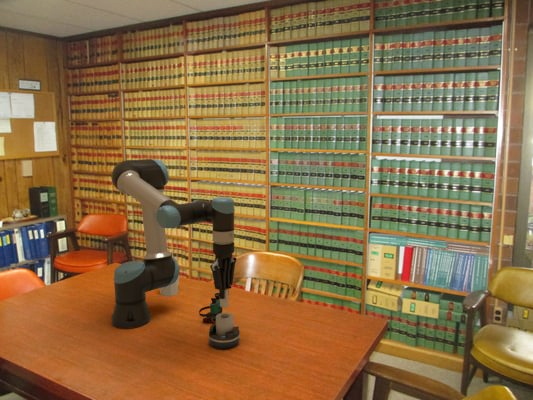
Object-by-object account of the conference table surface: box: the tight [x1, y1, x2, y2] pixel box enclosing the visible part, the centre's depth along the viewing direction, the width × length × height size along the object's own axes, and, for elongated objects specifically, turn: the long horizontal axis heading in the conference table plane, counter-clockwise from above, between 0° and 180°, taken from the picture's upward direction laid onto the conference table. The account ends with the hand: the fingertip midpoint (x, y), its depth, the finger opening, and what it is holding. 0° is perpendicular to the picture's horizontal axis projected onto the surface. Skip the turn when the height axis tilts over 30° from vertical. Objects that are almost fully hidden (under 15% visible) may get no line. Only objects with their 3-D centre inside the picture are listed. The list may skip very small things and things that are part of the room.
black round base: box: [208, 323, 241, 351], centre depth 153 cm, size 11×11×6 cm
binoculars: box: [198, 292, 224, 324], centre depth 172 cm, size 9×11×10 cm
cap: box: [216, 312, 235, 336], centre depth 152 cm, size 6×6×6 cm
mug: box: [159, 275, 180, 297], centre depth 203 cm, size 12×9×10 cm
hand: (224, 306), depth 151 cm, fingers closed
